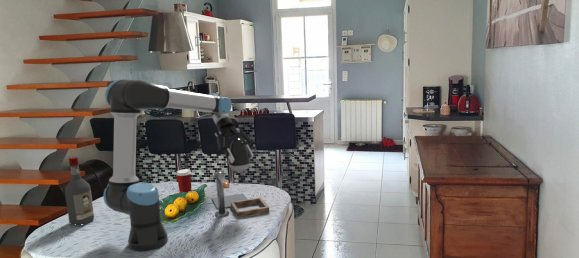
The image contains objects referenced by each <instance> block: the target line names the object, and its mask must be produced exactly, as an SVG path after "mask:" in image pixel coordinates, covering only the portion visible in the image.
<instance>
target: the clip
mask: <svg viewBox="0 0 579 258" xmlns="http://www.w3.org/2000/svg"><path fill="white" fill-rule="evenodd" d="M213 177H214V178H216V177H218V179H219V180H220V182H221V183H222V185H223V188H224V189H229V188H230V182H228V180H227V179H226V177H225V171H223V170H220V171H215V172H213Z"/></svg>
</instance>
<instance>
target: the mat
mask: <svg viewBox="0 0 579 258" xmlns="http://www.w3.org/2000/svg"><path fill="white" fill-rule="evenodd" d="M247 199H248V198H247V196H246V195H245V194H244V193H243V192H242V193H236V194H229V195H224V201H225V209H229V208H231V202H235V201H241V200H247ZM211 200H212V202H213V204H214V206H215V208H216V210H217V211H219V210H218V197H217V196H216V197H212V198H211Z"/></svg>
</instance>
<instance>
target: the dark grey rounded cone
mask: <svg viewBox="0 0 579 258" xmlns="http://www.w3.org/2000/svg"><path fill="white" fill-rule="evenodd" d="M246 143H247V142H246V141H245V142H244V141H243V140H242V139H239V138H237V139H233V140H232V142H231V144H230V147H229V149H230V151H231V153H232V155H233V157H234V159H235V160H234V162H233V163H231V161H230V159H229V157H228V158H227V162H228V165H229V168H230V169H231V171H233V172H236V173H239V172H245V171H247V170H248V169H249V167H250V164H251V159H250V156H249V152H248V149H247V147H246V145H245V144H246Z"/></svg>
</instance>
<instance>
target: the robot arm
mask: <svg viewBox="0 0 579 258" xmlns="http://www.w3.org/2000/svg"><path fill="white" fill-rule="evenodd" d="M104 98H105V102H106V103H107V104H108V105H109V107H110V108H109V109H110V111H109V113H110V114H111V115H112V116H113V118H114V119H113V121H114V122H113V163H112V164H113V168H112V169H113V170H112V176H111V177H110V178H109V180H108V184H107V186H106V187H105V188H104V190H103V197H102V198H103V201H104V203H105V205H106V207H108V208H109V209H111V210H112V211H114V212H119V213H122V214H124V215H128V216H129V219H130V228H129V229H130V231H129V235H128V239H127V245H128V248H129V249H130V250H133V251H138V252H140V251H141V252H144V251H151V250H154V249H158V248H160V247H163V246H164V245H165V244H167V242H168V240H169V236H168V232H167V230H166V228H165V226H164V224H163V222H162V214H161V205H160V204H161V203H160V195H159V189H158V187H157V186H156V185H154V184H153V183H149V182H145V183H144V182H140V179H139V177H137V175H136V165H137V164H136V159H137V156H136V154H137V120H138V119H137V118H138V117H139V116H140V115H141V111H143V110H165V109H166V108H168V109H169V108H170V109H178V110H189V111H193V112H198V113H207V114H210V116H211V118H212V119H213V123H214V124H215V125H216V127H217V130H216V131H215V133H214V136H215V138H216V142H217V148H218V151H219V152H222V153H223V154H225V156H226V157H229V159H230V161H231V163H233V162H234V160H235V159H234V157H233V155H232V153H231V151H230V147H229V148H228V139H232V138H233V140H235V139H237V138H239V139H242V140H243V141H244V142H245V141H246V142H247V143H246V144H245V145H246V147H247V149H248V152H249V156H250V160H251V159H253V157H254V153H253V152H252V151H253V149H252V146H251V144H252V143H253V141H252V139H251V138H250V137H249V136H248V135H247V134H246V133H245V132H244V130H243V128H242V127H241V126H239V127H235V125H234V123H233V121H232V119H231V117H230V116H229V113H230V111H232V106H233V104H232V100H231V99H230V98H229V97H227V96H226V97H225V96H219V95H218V94H217V93H215V92H214V93H209V94H204V93H197V92H191V91H184V90H178V89H172V88H171V89H170V88H168V87H167V86H166V85H162V84H157V83H153V82H149V81H145V80H140V79H125V78H124V79H118V80H115V81H112V82H111V83H109V85H108V86H107V87H106V90H105V92H104ZM222 137H223V141H222Z"/></svg>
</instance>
